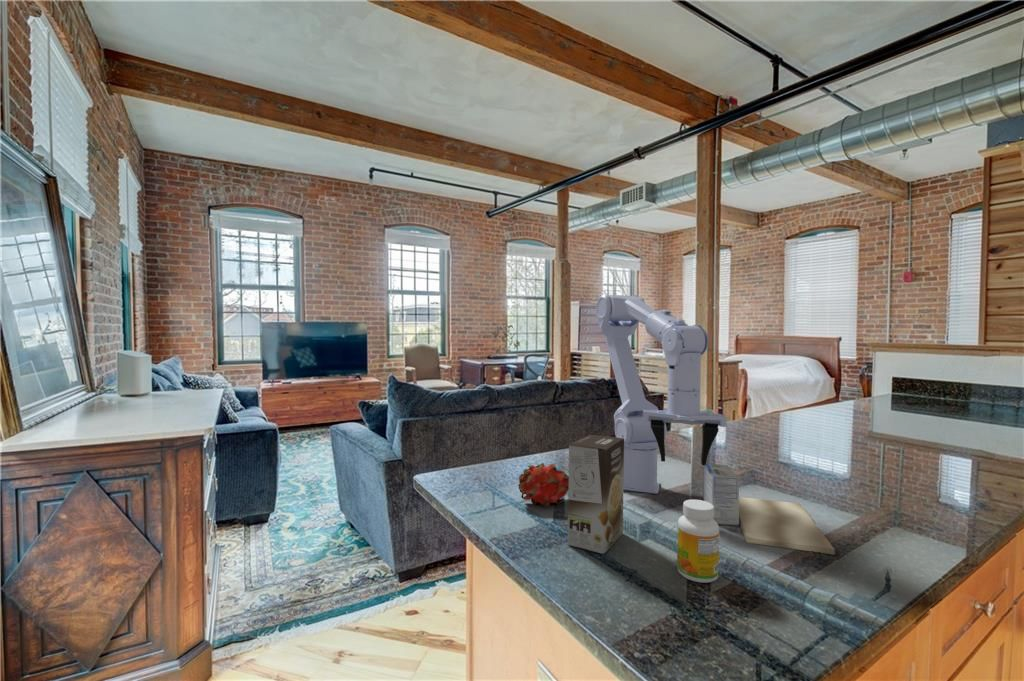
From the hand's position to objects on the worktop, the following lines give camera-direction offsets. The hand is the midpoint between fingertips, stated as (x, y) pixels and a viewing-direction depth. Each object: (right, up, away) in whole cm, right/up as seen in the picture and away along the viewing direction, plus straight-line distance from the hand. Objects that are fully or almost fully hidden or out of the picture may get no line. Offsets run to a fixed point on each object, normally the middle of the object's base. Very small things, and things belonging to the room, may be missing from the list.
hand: (683, 462), depth 86 cm
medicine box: (+6, -10, -2) cm, 12 cm away
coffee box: (-18, -10, -12) cm, 24 cm away
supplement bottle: (-6, -10, -22) cm, 25 cm away
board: (+15, -10, -5) cm, 18 cm away
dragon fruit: (-25, -9, +5) cm, 28 cm away
